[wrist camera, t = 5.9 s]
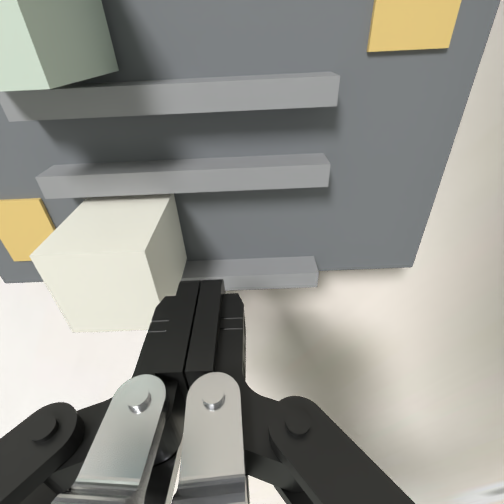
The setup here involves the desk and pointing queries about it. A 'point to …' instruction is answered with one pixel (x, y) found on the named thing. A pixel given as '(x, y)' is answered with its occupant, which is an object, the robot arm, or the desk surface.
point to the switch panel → (253, 132)
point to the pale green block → (53, 43)
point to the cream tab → (113, 261)
